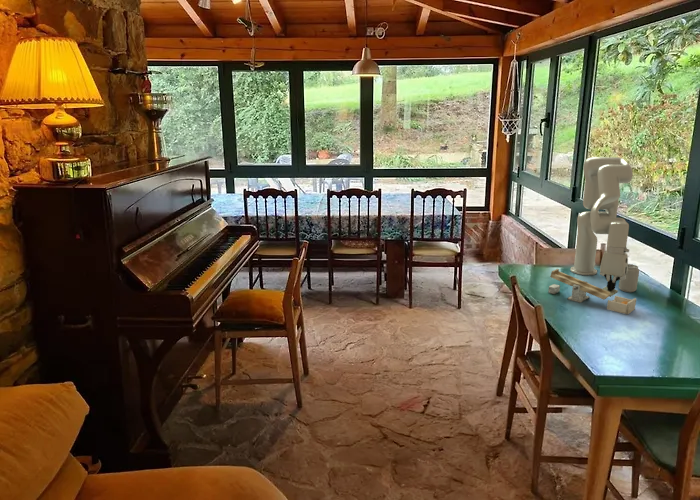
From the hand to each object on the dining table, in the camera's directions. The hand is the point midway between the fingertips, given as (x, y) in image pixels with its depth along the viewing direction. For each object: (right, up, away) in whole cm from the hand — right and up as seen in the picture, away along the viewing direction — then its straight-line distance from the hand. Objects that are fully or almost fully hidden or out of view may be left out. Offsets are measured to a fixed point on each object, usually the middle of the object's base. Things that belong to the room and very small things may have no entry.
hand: (610, 289), depth 232 cm
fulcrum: (-16, -3, +7) cm, 18 cm away
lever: (-10, +2, +5) cm, 11 cm away
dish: (0, -7, -9) cm, 12 cm away
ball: (+1, -6, -11) cm, 12 cm away
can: (+14, -1, +14) cm, 20 cm away
